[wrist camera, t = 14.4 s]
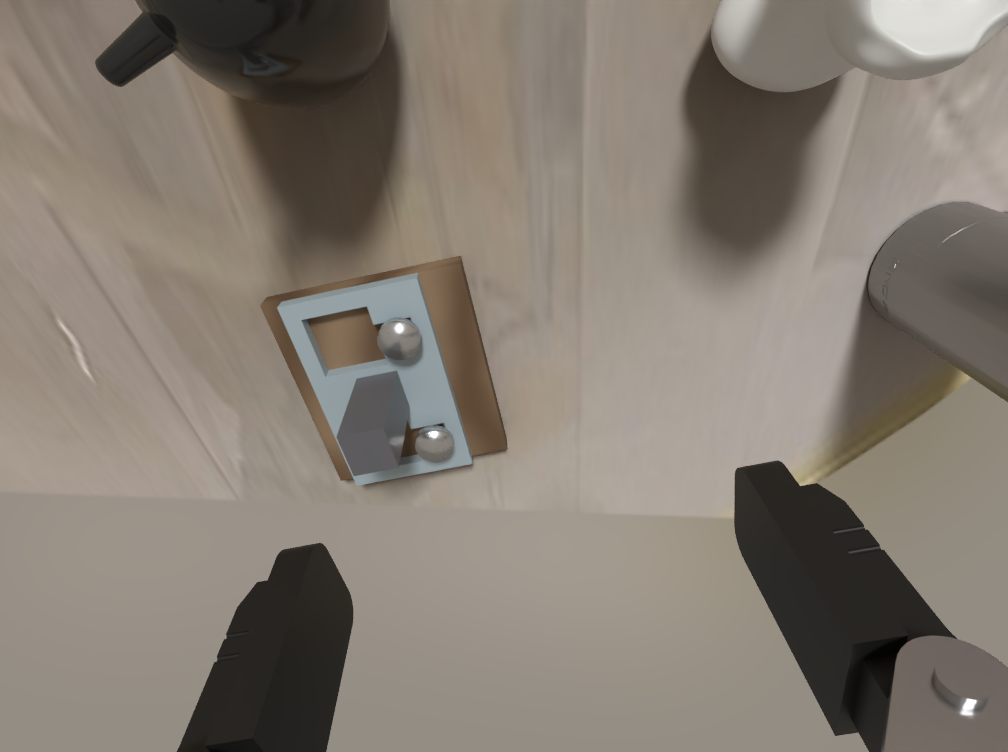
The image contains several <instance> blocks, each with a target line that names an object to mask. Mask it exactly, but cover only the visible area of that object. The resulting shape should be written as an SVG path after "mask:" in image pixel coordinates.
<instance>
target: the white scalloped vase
mask: <svg viewBox="0 0 1008 752" xmlns="http://www.w3.org/2000/svg"><path fill="white" fill-rule="evenodd" d="M1007 25H1008V0H721V1H720V3H719V5H718V8H717V10H716V12H715V15H714V18H713V22H712V27H711V40H712V44H713V48H714V51H715V53H716V55H717V57H718V59H719V61H720V62H721V64H722V65H723V66H724V67H725V69H726V70H727V71H728V72H729V73H730V74H732V75H733V76H734V77H736V78H737V79H739V80H741V81H743V82H744V83H746V84H749V85H751V86H753V87H756V88H759V89H763V90H767V91H774V92H794V91H800V90H805V89H809V88H812V87H815V86H818V85H820V84H823V83H825V82H827V81H829V80H831V79H834V78H836V77H838V76H840V75H842V74H844V73H846V72H848V71H850V70H852V69H853V68H855V67H857V68H860V69H862V70H864V71H867V72H870V73H872V74H875V75H877V76H880V77H883V78H887V79H893V80H912V79H919V78H924V77H928V76H932V75H935V74H938V73H941V72H944V71H947V70H949V69H952V68H954V67H956V66H958V65H960V64H962V63H963V62H965V61H966V60H967V59H968V58H969V57H971V56H972V55H973V54H974V53H976V52H977V51H978V50H979V49H981V48H982V47H983V46H984V45H986V44H987V43H988V42H989V41H990V40H991V39H993V38H994V37H995V36H996V35H997V34H998V33H999V32H1001V31H1002V30H1003V29H1004V28H1005V27H1006V26H1007Z"/></svg>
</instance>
